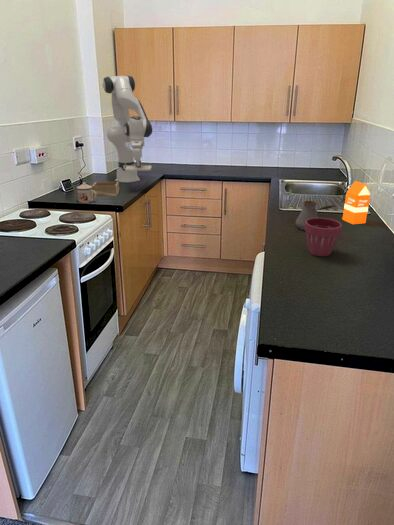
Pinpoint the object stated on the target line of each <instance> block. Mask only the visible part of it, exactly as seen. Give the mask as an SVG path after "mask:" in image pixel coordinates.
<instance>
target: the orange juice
mask: <svg viewBox="0 0 394 525" xmlns="http://www.w3.org/2000/svg"><path fill="white" fill-rule="evenodd" d="M370 200H371V192H370V191H369V188H368V186H367V183H362V182H360V181H357V180H354V182H353V183H352V184H351V186H350V187H349V188H348V189H347V191H346V194H345V200H344V206H343V214H342V217H341V218H342V220H343V221H344V222H346V223H349V224H351V225H359V224H366V222H367V218H368V217H367V216H368V212H369V204H370Z"/></svg>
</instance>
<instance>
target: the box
mask: <svg viewBox="0 0 394 525" xmlns="http://www.w3.org/2000/svg"><path fill="white" fill-rule="evenodd" d="M91 186H92V190H93V191H95V192H96V197H117V196H118V195H119V193H120V182H118V181H95V182H94V183H93V184H91ZM92 193H93V197H94V196H95V194H94V192H92Z"/></svg>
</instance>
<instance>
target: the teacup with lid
mask: <svg viewBox="0 0 394 525" xmlns="http://www.w3.org/2000/svg"><path fill="white" fill-rule="evenodd" d="M76 190H77V191H76V192H77V199H78V202H79V203H87V204H92V203H93V202H94V199H96V198H97V196H96V192H95V191H93V190H92V185H89V184H87V183H86V182H82V184H80V185H79V186H76ZM92 192H94V194H95V196H93V193H92Z"/></svg>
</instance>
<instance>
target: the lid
mask: <svg viewBox="0 0 394 525" xmlns="http://www.w3.org/2000/svg"><path fill="white" fill-rule="evenodd" d="M152 167H153V166H152V165H147V164H146V165H142V160H140V166H137V162H136V161H135V166H127V167H126V169H125V171H137V172H138V171H151V170H152Z"/></svg>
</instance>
